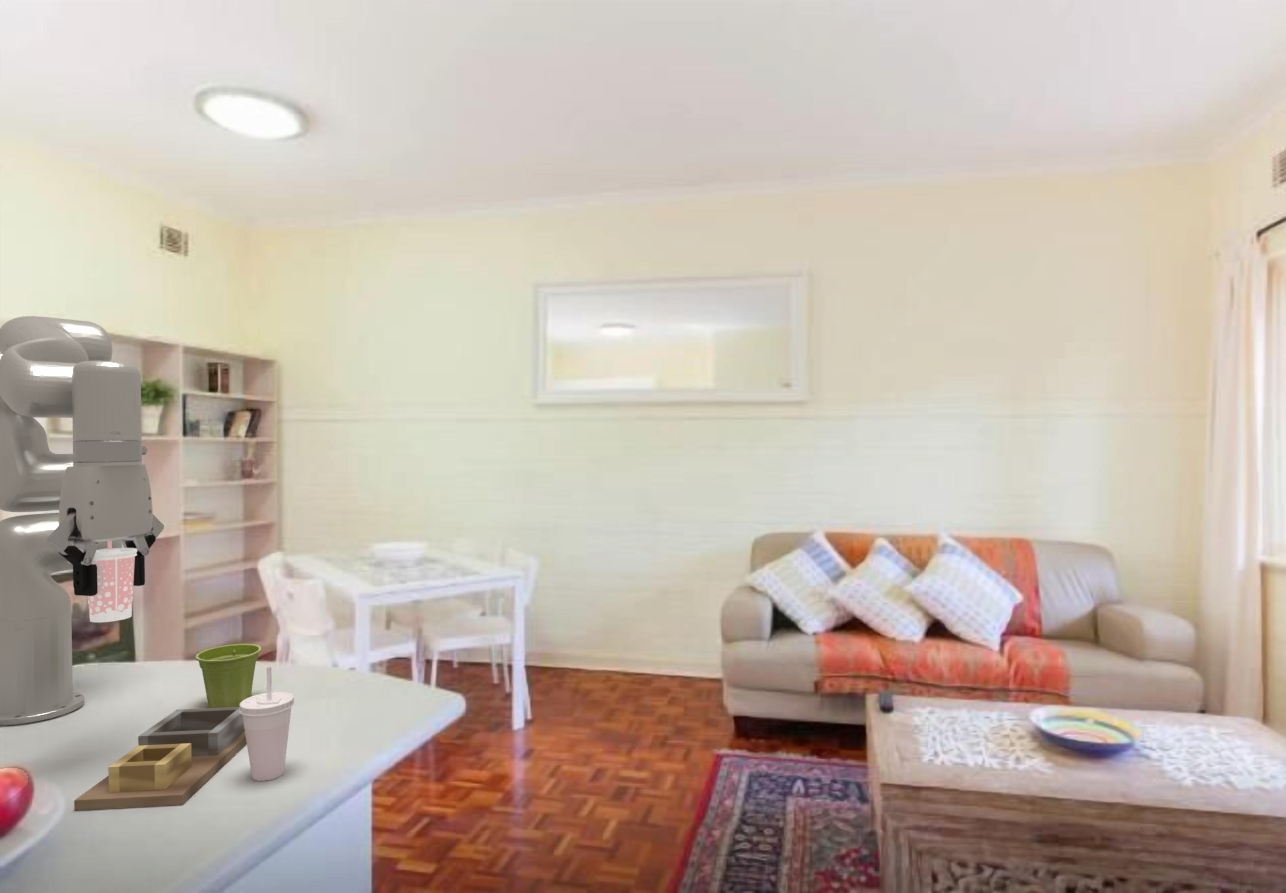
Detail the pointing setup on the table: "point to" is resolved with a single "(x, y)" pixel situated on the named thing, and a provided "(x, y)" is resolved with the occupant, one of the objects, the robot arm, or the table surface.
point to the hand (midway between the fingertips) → (110, 588)
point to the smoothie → (267, 730)
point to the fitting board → (170, 760)
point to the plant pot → (228, 673)
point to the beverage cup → (113, 584)
